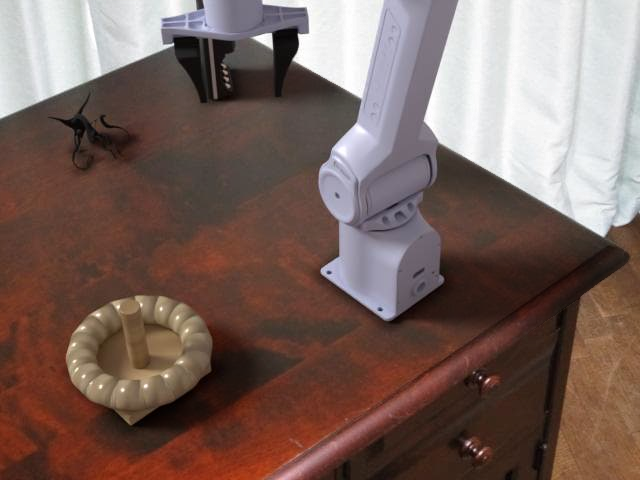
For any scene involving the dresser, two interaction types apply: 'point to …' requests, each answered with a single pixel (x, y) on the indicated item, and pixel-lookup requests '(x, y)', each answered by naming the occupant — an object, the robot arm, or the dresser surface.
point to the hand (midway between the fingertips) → (240, 94)
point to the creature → (88, 131)
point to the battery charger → (216, 64)
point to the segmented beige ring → (150, 389)
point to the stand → (138, 352)
